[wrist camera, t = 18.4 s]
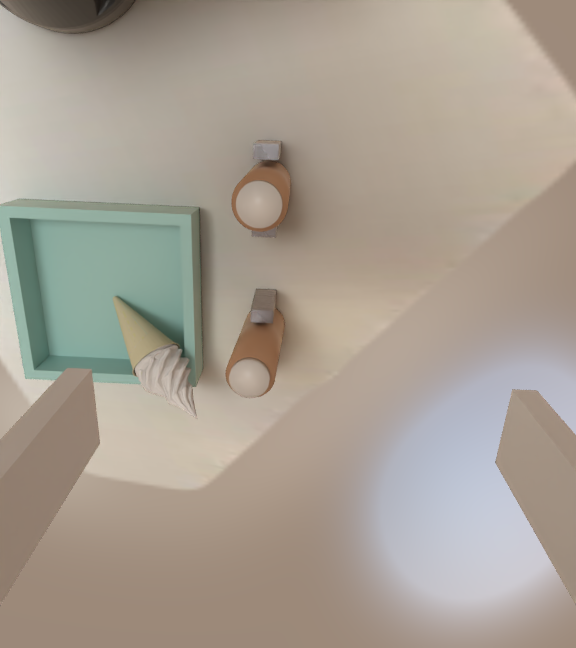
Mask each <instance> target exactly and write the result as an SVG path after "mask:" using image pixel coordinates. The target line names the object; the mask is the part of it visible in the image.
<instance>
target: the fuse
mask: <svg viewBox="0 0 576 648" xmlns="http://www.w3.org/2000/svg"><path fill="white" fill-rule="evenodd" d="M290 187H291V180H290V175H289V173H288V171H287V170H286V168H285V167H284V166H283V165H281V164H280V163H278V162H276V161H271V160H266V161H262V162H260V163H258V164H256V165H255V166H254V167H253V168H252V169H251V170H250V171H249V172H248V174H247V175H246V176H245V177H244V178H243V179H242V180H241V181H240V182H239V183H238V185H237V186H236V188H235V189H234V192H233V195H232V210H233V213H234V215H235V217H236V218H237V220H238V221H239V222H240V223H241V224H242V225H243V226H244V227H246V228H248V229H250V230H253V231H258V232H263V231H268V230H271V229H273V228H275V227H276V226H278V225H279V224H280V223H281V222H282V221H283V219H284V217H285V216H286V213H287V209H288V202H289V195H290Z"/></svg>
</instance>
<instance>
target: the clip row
mask: <svg viewBox="0 0 576 648" xmlns="http://www.w3.org/2000/svg"><path fill="white" fill-rule="evenodd" d="M280 156H281V141H270V140H258V141H256V142H255V143H254V144H253V159H262V160H279V158H280ZM277 229H278V226H276V227H275V228H273V229H271V230H268V231H263V232H258V231H253V230H252V236H257V237H276V234H277ZM275 303H276V290H270V289H256V291H255V295H254V299H253V303H252V307H251V322H255V323H273V319H274V311H275Z"/></svg>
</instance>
